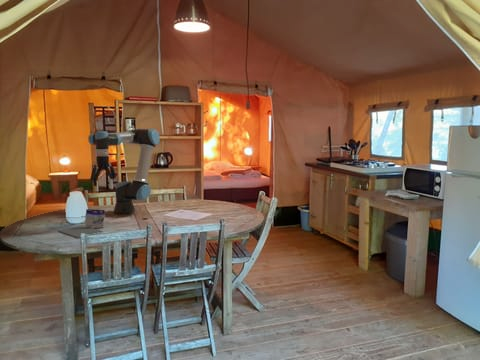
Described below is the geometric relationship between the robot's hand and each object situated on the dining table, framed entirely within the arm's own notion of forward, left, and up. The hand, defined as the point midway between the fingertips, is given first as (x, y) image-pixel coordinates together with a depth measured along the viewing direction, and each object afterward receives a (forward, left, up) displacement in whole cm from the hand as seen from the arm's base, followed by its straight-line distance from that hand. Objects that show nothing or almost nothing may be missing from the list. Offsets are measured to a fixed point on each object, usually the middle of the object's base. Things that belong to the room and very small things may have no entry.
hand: (104, 189), depth 241 cm
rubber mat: (+18, 0, -24) cm, 30 cm away
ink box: (+8, 0, -24) cm, 25 cm away
